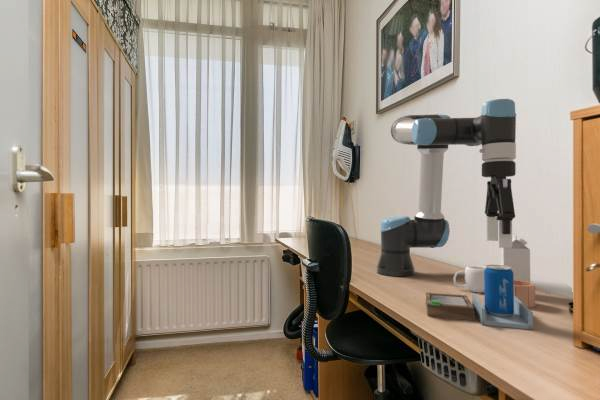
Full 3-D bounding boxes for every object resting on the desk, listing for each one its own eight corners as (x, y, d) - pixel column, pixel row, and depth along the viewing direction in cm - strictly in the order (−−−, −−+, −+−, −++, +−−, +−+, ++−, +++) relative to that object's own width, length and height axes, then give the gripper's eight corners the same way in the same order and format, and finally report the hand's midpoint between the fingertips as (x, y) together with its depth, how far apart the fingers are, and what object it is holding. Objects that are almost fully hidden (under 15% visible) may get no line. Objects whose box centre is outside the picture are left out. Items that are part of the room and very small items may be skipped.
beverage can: (489, 317, 85) (489, 268, 85) (481, 309, 91) (480, 264, 91) (518, 318, 83) (517, 269, 83) (507, 310, 90) (507, 264, 90)
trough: (472, 307, 95) (472, 293, 96) (515, 311, 92) (515, 296, 92) (481, 324, 82) (481, 308, 82) (532, 329, 79) (532, 312, 79)
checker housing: (425, 302, 100) (425, 289, 100) (466, 306, 97) (466, 292, 97) (427, 316, 89) (427, 301, 89) (474, 320, 85) (474, 305, 85)
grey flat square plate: (430, 298, 98) (430, 294, 98) (462, 300, 96) (462, 297, 96) (432, 306, 90) (432, 303, 90) (467, 309, 88) (467, 305, 88)
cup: (500, 298, 104) (500, 279, 104) (529, 301, 101) (529, 280, 101) (506, 306, 96) (506, 285, 97) (538, 308, 94) (537, 286, 94)
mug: (490, 288, 116) (490, 265, 116) (496, 295, 108) (496, 270, 108) (451, 286, 119) (451, 264, 119) (455, 292, 111) (455, 268, 111)
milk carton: (503, 295, 107) (503, 235, 107) (501, 290, 113) (500, 233, 114) (530, 298, 104) (530, 236, 104) (526, 292, 110) (526, 234, 110)
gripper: (473, 165, 100) (473, 237, 101) (492, 156, 77) (492, 250, 77) (502, 164, 98) (502, 238, 98) (531, 155, 74) (531, 252, 75)
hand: (498, 244), depth 88 cm, fingers open, 13 cm apart
